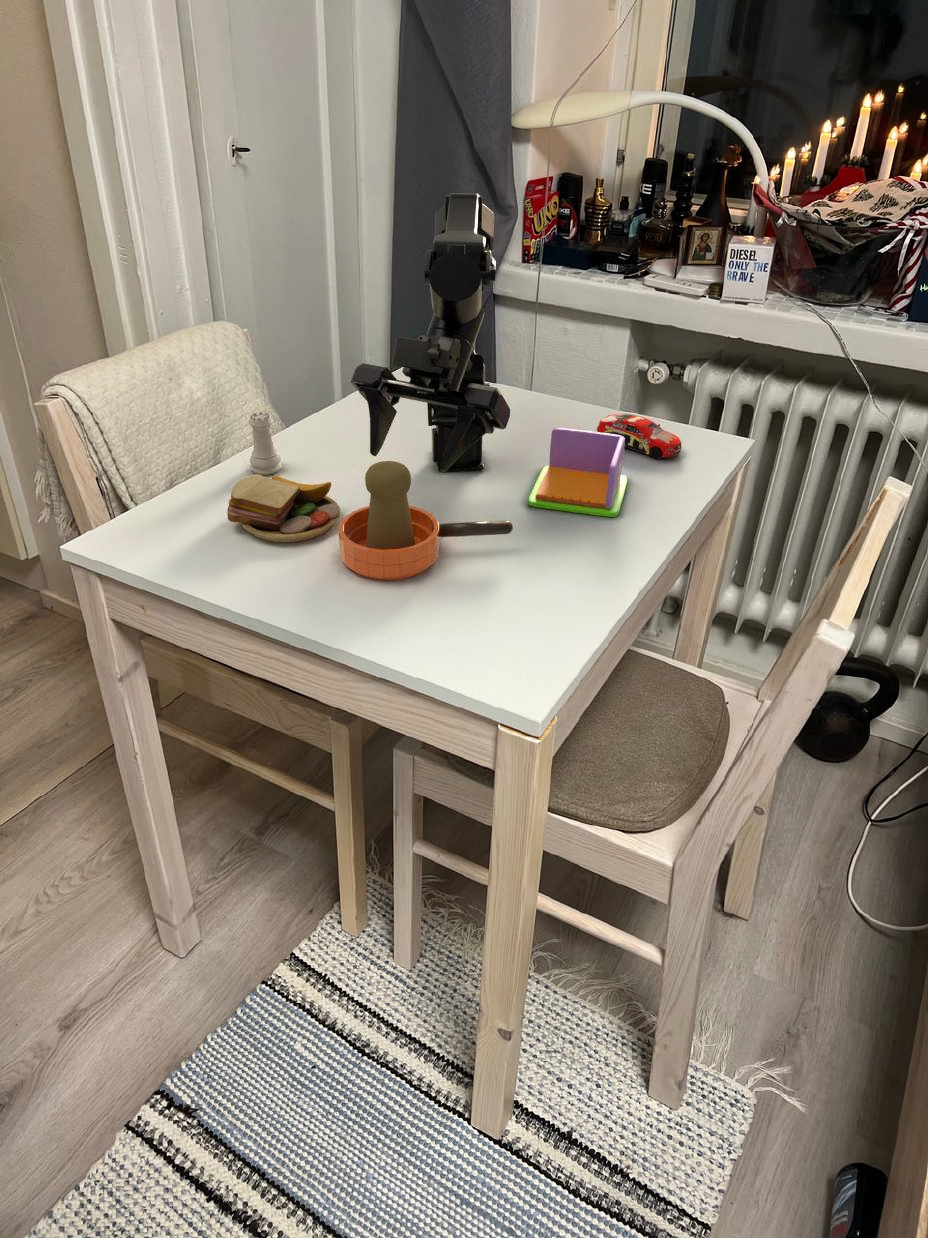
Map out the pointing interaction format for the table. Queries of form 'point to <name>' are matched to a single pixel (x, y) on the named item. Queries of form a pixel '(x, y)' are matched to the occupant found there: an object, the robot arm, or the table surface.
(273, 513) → the toy sandwich meal
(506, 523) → the pan handle
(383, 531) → the cork
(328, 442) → the table surface
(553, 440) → the toy room diorama
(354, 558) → the pan
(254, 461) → the rook chess piece
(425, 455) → the table surface
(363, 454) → the table surface
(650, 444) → the race car
